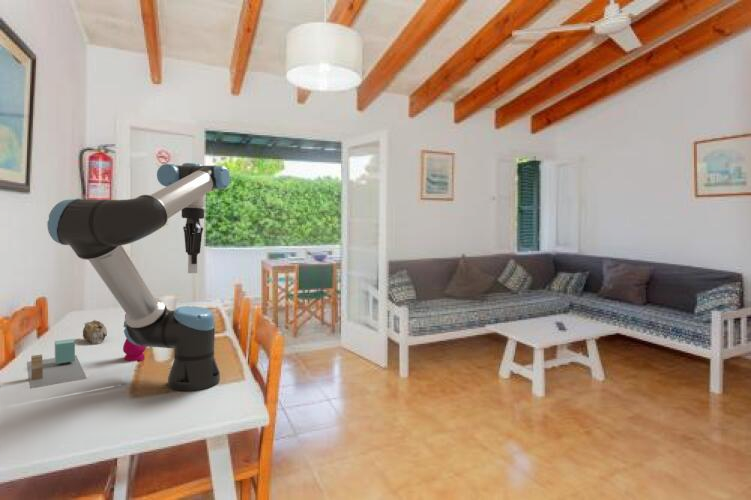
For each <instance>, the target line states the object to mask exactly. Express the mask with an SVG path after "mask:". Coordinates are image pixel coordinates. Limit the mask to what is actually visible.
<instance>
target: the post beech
mask: <svg viewBox="0 0 751 500" xmlns="http://www.w3.org/2000/svg"><path fill="white" fill-rule="evenodd" d="M30 356H31V358H30V359H31V360H30V361H31V368H32V380H37V379H43V369H42V360H43V355H42V354H35V355H30Z"/></svg>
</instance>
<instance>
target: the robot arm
mask: <svg viewBox="0 0 751 500" xmlns="http://www.w3.org/2000/svg"><path fill="white" fill-rule="evenodd" d="M156 179H157V181H158V183H159V184H160V185H161V186H164V187H163V188H162V189H159V190H158V191H156V192H154V193H151V194H141V195H138V196H137V197H134V198H130V199H83V198H74V199H73V198H72V199H64V200H62V201H60V202H59V201H58V203H56V204H55V205H54V206H53V207H52V209H51V210H50V212H49V214H48V220H47V221H46V222H47V224H46V225H47V231H48V234H49V236H50V238H51V239H52V240H53V241H54V242H56V243H57V244H60V245H61V246H62V245H63V246H69V247H70V248H71V249H72V250H73V252H74V254H75V255H76V256H77V257H78V258H79V259H81V260H85V261H87V260H88V261H89V263H90V264H91V266H92V267H93V268H94V270H95V271H96V273H97V274H98V276H99V277H100V278H101V280H102V281H103V283H104V284H105V286H106V287H107V288H108V290H109V292H110V293H111V294H112V295H113V297H114V298H115V300H116V301H117V303H118V304H119V305H120V307H121V308H122V310H123V311H124V312H125V314H126V316H125V315H124V321H123V322H124V323H123V328H125V329H124V330H123V332H124V335H125V336H124V337H125V338H126V339H128V340H129V341H130V342H131V343H133V344H135V345H139V346H144V347H146V348H147V347H152V348H163V349H165V348H166V349H173V352H174V355H173V359H174V360H173V363H172V365H171V368H170V372H169V375H168V378H167V387H168V388H170V389H171V390H174V391H178V392H179V391H180V392H190V391H191V392H192V391H200V390H205V389H208V388H211V387H213V386H216V385H217V384H218V383H220V380H221V372H220V368H219V366H218V364H217V360H216V358H215V333H216V332H215V328H216V324H215V323H216V322H215V314H214V313H213V311H212V310H210V309H208V308H206V307H201V306H195V305H194V306H190V305H187V306H186V305H185V306H179V307H176V308H175V309H174V310H170V309H168V308H167V306H166V305H165V303H164V301H163V300H161V299H159V298H155V297H154V295H153V294H152V292H151V290H150V289H149V287H148V285H147V284H146V282H145V281H144V279H143V278H142V276H141V274H140V272H139V271H138V270H137V267H136V266H135V264H134V263H133V261H132V260H131V258H130V257H129V255H128V253H127V252H126V250H125V248H124V247H123V246H124V245H128V244H132V243H135V242H137V241H140V240H141V239H144V238H146V237H148V236H149V235H152V234H153V233H155V232H157V231H159V230H160V229H162V228H163V227H165V225H166V224H167V222H168V219H170V218H171V217H173V216H175V215H176V214H177V213H179V212H181V218H182V219H186V221H185V225H184V226H183V228H182V229H183V234H184V246H185V247H184V248H185V253H187V273H188V274H198V255H199V254H201V245H202V237H203V235H202V234H203V230H204V227H203V226H201V222H200V220H204V219H205V209H204V207H205V202H206V198H205V196H206V195H207V194H209V193H210V192H212V191H213V190H224V189H227V188H228V187H229V185H230V182H231V175H230V170H228V168H227V167H226V166H224V165H217V164H214V165H203V164H201V163H193V162H184V163H183V164H182V165H180V164H179V165H177V164H176V165H175V164H173V163H164V164H162V165H160V166H159V167H158V169H157V171H156Z"/></svg>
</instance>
